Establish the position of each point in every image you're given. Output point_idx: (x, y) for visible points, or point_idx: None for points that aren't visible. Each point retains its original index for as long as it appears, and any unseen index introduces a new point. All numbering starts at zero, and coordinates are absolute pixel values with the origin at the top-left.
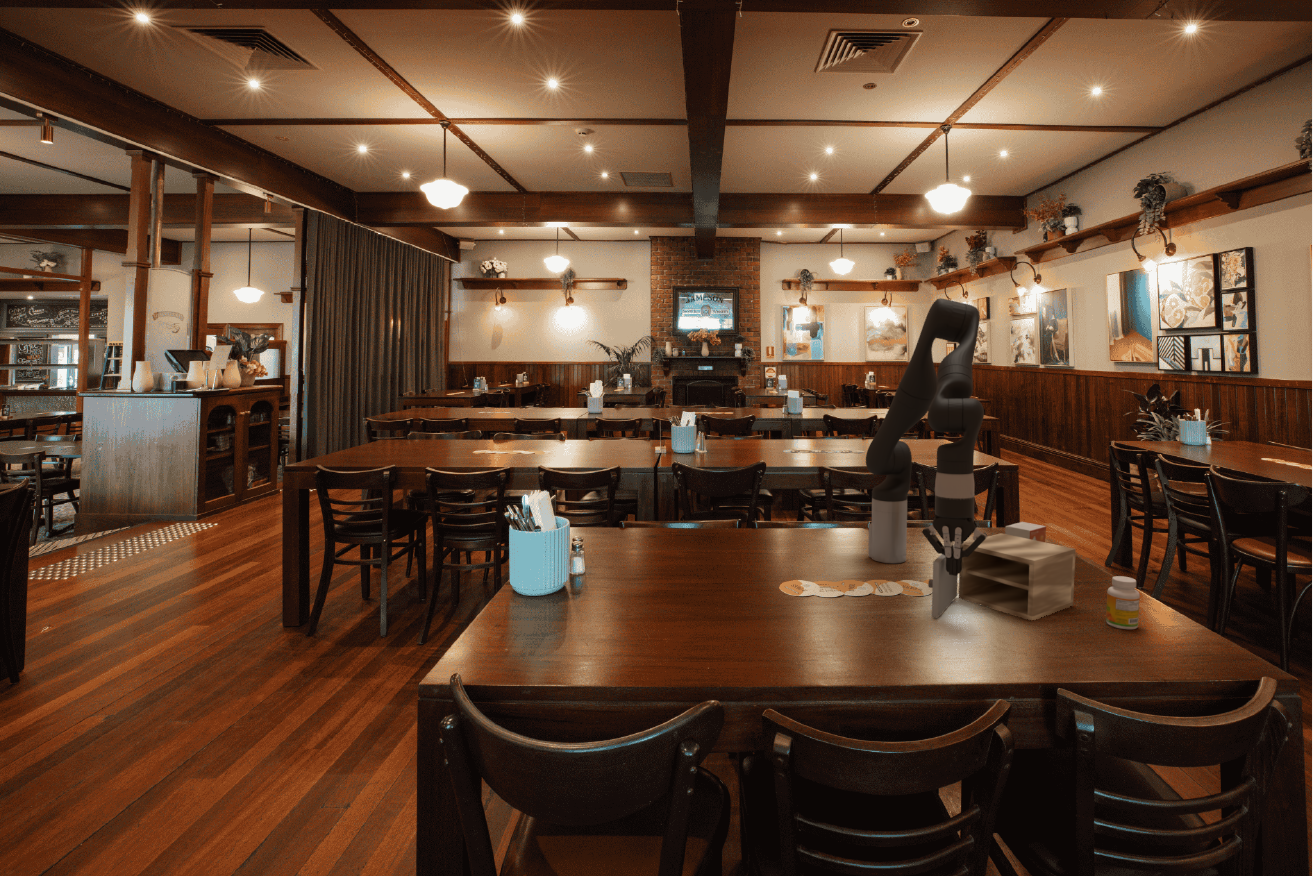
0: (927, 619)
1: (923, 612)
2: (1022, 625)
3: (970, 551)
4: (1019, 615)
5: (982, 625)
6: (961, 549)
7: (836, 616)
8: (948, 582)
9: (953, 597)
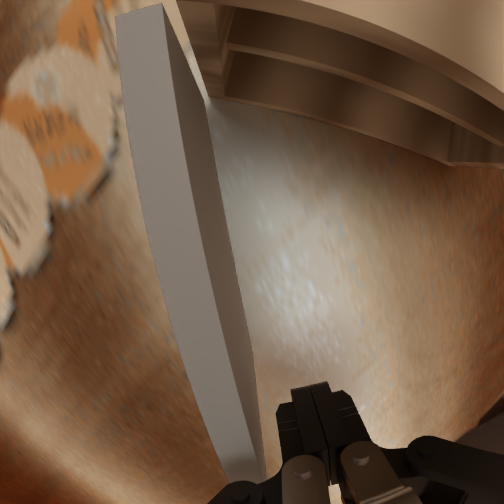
0: None
1: None
2: (439, 216)
3: (443, 495)
4: (423, 154)
5: (364, 296)
6: (387, 483)
7: (86, 451)
8: (226, 258)
9: (212, 152)
